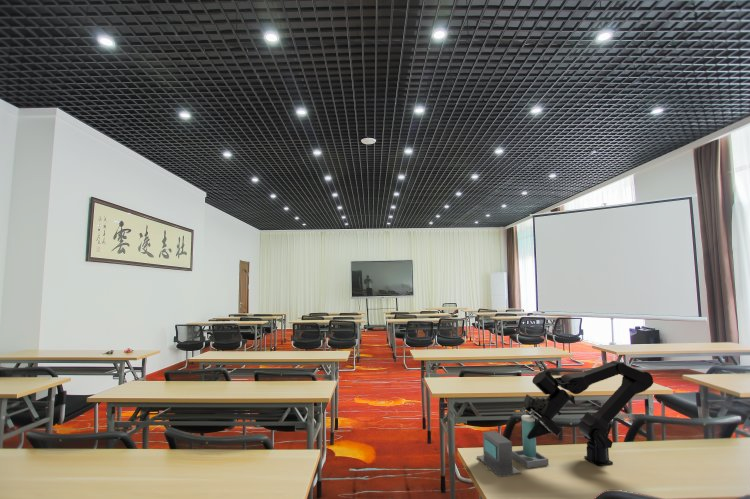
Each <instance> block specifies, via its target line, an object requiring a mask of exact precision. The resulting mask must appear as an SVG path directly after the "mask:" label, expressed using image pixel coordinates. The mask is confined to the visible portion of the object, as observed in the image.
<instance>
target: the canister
mask: <svg viewBox="0 0 750 499" xmlns="http://www.w3.org/2000/svg"><path fill="white" fill-rule="evenodd" d="M534 425H535V417H533V416H531V415H527V414H523V415H521V431H522V432H521V433H522V434H521V435H522V436H521V437H522V450H523V454H524V455H525V456H527V457H531V458H533V457H536V452H537V437H535V438H532V439H528V438H527V436H528V434H529V432H530V431H531V430H532V428H533V427H534Z"/></svg>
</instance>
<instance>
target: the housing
mask: <svg viewBox="0 0 750 499" xmlns="http://www.w3.org/2000/svg"><path fill="white" fill-rule="evenodd" d="M482 443H483V444H482V446H483V448H482V450H483V454H482V455H477V456H476V459H478V460H479V461H480V462H481V463H482V464H484V466H486V467H487V468H488V469H490V470H491V471H492V472H493V473H494V474H495V475H496V476H497V477H498V478H503V477H504V478H505V477H509V476H510V477H511V476H516V475H521V471H520V470H519V469H517V468H516V467H515V466H513V465H514V464H513V463H514V462H513V457H512V451H513V442H512V441H511V440H509V438H507V437H505V436H504V435H502V434H501V433H499V432H497V430H491V431H490V430H489V431H482Z"/></svg>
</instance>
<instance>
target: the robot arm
mask: <svg viewBox="0 0 750 499" xmlns="http://www.w3.org/2000/svg"><path fill="white" fill-rule="evenodd" d="M618 375H620V376H622V380H621V385H620V386H619V387H618V388H617V389H616V390H615V391H614V393H612V395H611V396H610V397H609V398H608V399H607V400H606V401H605V402H604V403H603V405H602V406H601V407H600V408H598V410H597V411H596V412H595V413H590V412H589V411H587V412H585V413H584V416H582V417H581V418H579V422H578V430H579V432H580V434H582V435H583V438H584V439H586V440H587V441H586V455H584V457H583V458H584V459H586V460H587V461H590V462H591V463H592V464H594V465H596V466H607V465H613V463H614V462H613V461H612V460H610V456H609V454H610V452H609V449H611V448H612V446H613V441H612V440H611V439H610V438H609V437H608V436H607V434H608V431H609V427H610V426H609V425H610V423H611V422H612V421H613V420H614V419H615V417H617V415H619V413H620V412H621V411H622V410H623V409H624V408H625V407H626V405H627V404H628V403H629V402H630V401H631V400H632V399H633V398H634V396H636V395H638V394H640V393H644V392H646V390H648V389H649V388H651V387H652V386H653V385H654V379H653V375H652V374H651V373H650V372H648V371H645V370H642V369H638V368H636V367H631V366H629V365H627V364H625V363H624V362H622V361H618V360H611V361H610V362H608V363H605V364H602V365H600V366H598V367H595V368H591V369H589V370H586V371H582V372H569V373H565V374H563V375H561V376H560V377H553V375H551V373H550V372H549V371H548V370H546V369H544V370H543V371H541V372H539V373H537V374H535V375H534V376H533V378H532V384H534V386H536V387H537V388H538V390H540V391H541V392H542V393H543V394H544V395H546V396H547V395H548V396H547V397H546V398H544V397H541V398H540V397H535V396H532V395H530V394H526V395H525V397H524V400H523V403H524V404H523V405H522V408H524V410H525V415H531V416H533V417H535V425H534V427H533V428H532V430H531V431H530V432H529V434H528V436H527V438H528V439H532V438H535V437H536V438H538V437H540V436H545V435H549V434H550V435H551V434H552V433H553V435H555V436H556V437H558V436H559V435H560V434H561V433H562V429H561V427H560V426H559V425H558V424H557V423H556V422H555V421H554V420H553V419H554V418H555V417H556V416H557V415H558V416H561V415H562V413H561V410H562V409H563V408H564V407H565V406H566V405H567V404H568V402H569V403H571V404H572V405H575V404H576V400H575V395H579V394H581V393H583V392H585V391H586V390H588V388H589V387H590V386H591V385H593V384H596V383H599V382H602V381H604V380H608V379H609V378H612V377H615V376H618ZM559 387H560V388H559ZM568 392H570V393H572V394H569V393H568ZM521 433H522V430H521Z"/></svg>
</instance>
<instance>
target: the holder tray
mask: <svg viewBox="0 0 750 499" xmlns="http://www.w3.org/2000/svg"><path fill="white" fill-rule="evenodd" d="M512 459H514V460H516V461H517V462H518V463H520V465H523V466H524V467H525V468H527V469H532V468H538V467H545V466H549V465H550V464H549V458H548V457H546V456H545V455H542V454H541V453H540V452H538V451H536V457H533V458H531V457H527V456H525V455H524V454H523V449H519V450H512Z"/></svg>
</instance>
